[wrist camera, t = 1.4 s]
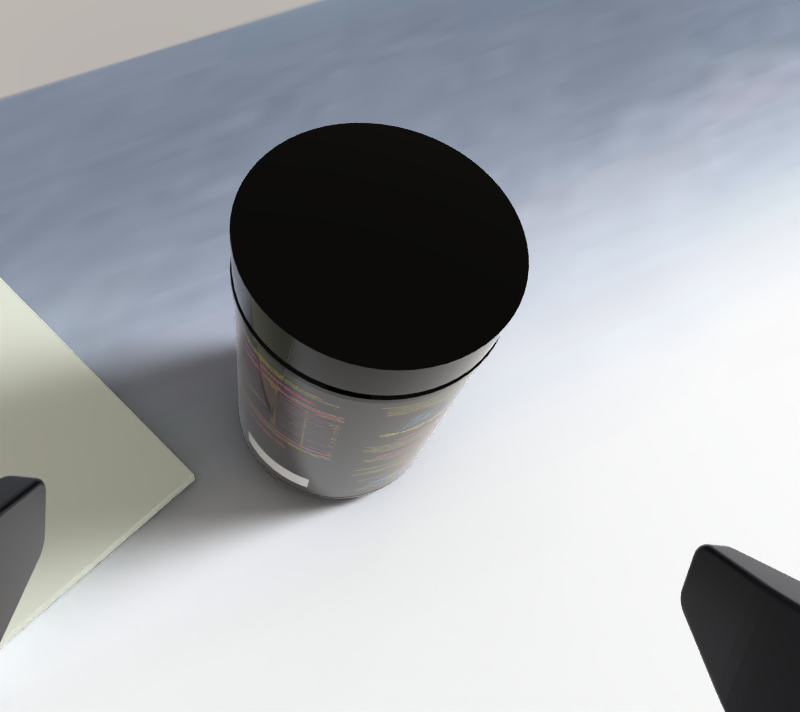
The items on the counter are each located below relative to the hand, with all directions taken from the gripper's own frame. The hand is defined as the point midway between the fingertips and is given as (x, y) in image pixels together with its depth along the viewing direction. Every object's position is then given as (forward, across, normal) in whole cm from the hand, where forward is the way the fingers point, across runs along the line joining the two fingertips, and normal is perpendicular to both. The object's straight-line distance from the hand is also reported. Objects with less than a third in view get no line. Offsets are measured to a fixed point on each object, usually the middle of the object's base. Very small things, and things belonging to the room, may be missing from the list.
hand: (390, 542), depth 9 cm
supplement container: (+14, 0, +4) cm, 15 cm away
